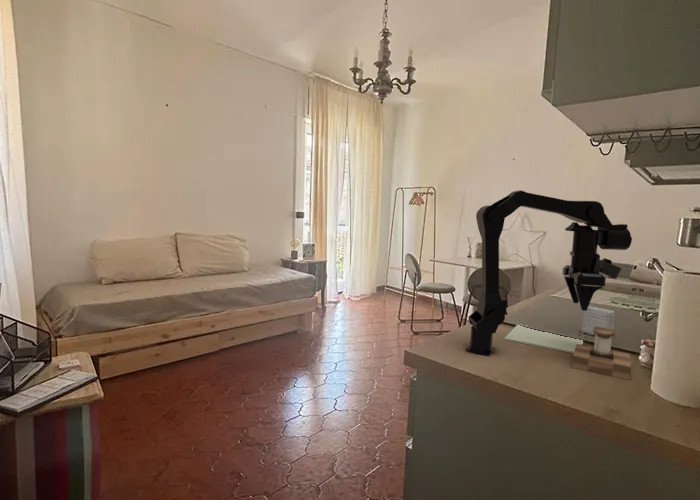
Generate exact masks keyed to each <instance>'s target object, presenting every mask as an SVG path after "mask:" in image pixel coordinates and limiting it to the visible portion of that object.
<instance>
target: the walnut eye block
mask: <svg viewBox="0 0 700 500" xmlns="http://www.w3.org/2000/svg"><path fill="white" fill-rule="evenodd" d="M593 355H594V346H591V345H584V344H583V345H580V344H576V348H575V351H574V353H572V361H571V369H576V370H582V371H586V372H591V373H596V374H599V375H604V376H609V377H614V378H618V379H624V380H627V381H628V380H629V381H630V379H631V372H632V364H631V363H632V362H631V357H630V356H631V354H630V353H628V352H623V351H617V350H614V349H613V350H610V359H606V358H601V357H596V356H593Z"/></svg>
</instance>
